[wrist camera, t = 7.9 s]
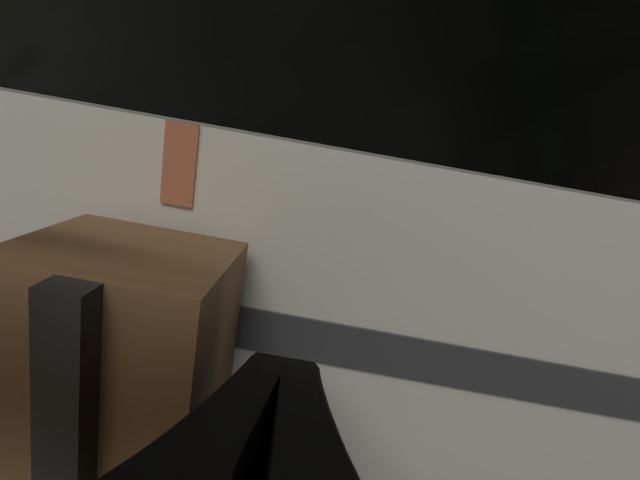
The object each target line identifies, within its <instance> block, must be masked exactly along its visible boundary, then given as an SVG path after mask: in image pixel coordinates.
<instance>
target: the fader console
mask: <svg viewBox="0 0 640 480" xmlns="http://www.w3.org/2000/svg"><path fill="white" fill-rule="evenodd" d="M84 214H91V215H96V216H102V217H108V218H113V219H119V220H124V221H130V222H135V223H141V224H146V225H152V226H157V227H163V228H168V229H174V230H179V231H185V232H190V233H196V234H202V235H207V236H213V237H218V238H224V239H229V240H235V241H240V242H246V243H248V251H247V258H246V266H245V274H244V281H243V289H242V297H241V304H240V312H239V320H238V327H237V335H236V343H235V350H234V358H233V366H232V373H231V376H232V375H233V374H234V373H235V372H236V371H237V370H238V369H239V368H240V367H241V366H242V365H243V364H244V363H245V362H246V361H247V360H248V359H249V358H250V356H252V355H253V354H255V353H256V352H260V353H266V354H272V355H277V356H283V357H288V358H294V359H300V360H305V361H311V362H316V364H317V365H318V367H319V368H320V375H321V380H322V385H323V388H324V392H325V395H326V398H327V401H328V405H329V408H330V410H331V413H332V416H333V418H334V421H335V424H336V426H337V429H338V431H339V434H340V436H341V439H342V441H343V443H344V446H345V448H346V450H347V452H348V455H349V457H350V459H351V461H352V463H353V465H354V467H355V469H356V471H357V473H358V476H359V478H360V480H640V201H638V200H632V199H627V198H621V197H615V196H610V195H604V194H599V193H593V192H587V191H582V190H576V189H571V188H565V187H559V186H554V185H548V184H542V183H537V182H531V181H526V180H520V179H514V178H509V177H503V176H498V175H492V174H486V173H481V172H475V171H469V170H464V169H458V168H453V167H447V166H441V165H436V164H430V163H425V162H419V161H413V160H408V159H402V158H396V157H391V156H385V155H380V154H374V153H368V152H363V151H357V150H352V149H346V148H340V147H335V146H329V145H324V144H318V143H312V142H307V141H301V140H295V139H290V138H284V137H279V136H273V135H267V134H262V133H256V132H251V131H245V130H239V129H234V128H228V127H222V126H217V125H211V124H206V123H200V122H194V121H189V120H183V119H178V118H172V117H166V116H161V115H155V114H149V113H144V112H138V111H133V110H127V109H121V108H116V107H110V106H105V105H99V104H93V103H88V102H82V101H76V100H71V99H65V98H60V97H54V96H48V95H43V94H37V93H32V92H26V91H20V90H15V89H9V88H3V87H0V242H3V241H6V240H9V239H12V238H15V237H18V236H21V235H24V234H27V233H30V232H33V231H36V230H39V229H42V228H45V227H48V226H51V225H54V224H57V223H60V222H63V221H66V220H69V219H72V218H75V217H78V216H81V215H84Z"/></svg>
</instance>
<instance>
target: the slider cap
mask: <svg viewBox="0 0 640 480" xmlns="http://www.w3.org/2000/svg"><path fill="white" fill-rule="evenodd" d="M247 251H248V243H246V242H240V241H235V240H229V239H224V238H218V237H213V236H207V235H202V234H196V233H190V232H185V231H179V230H174V229H168V228H163V227H157V226H152V225H146V224H141V223H135V222H130V221H124V220H119V219H113V218H108V217H102V216H96V215H91V214H84V215H81V216H78V217H75V218H72V219H69V220H66V221H63V222H60V223H57V224H54V225H51V226H48V227H45V228H42V229H39V230H36V231H33V232H30V233H27V234H24V235H21V236H18V237H15V238H12V239H9V240H6V241H3V242H0V480H96V479H97V478H99V477H101V476H102V475H104V474H105V473H107V472H108V471H110V470H112V469H113V468H115V467H116V466H118V465H119V464H121V463H122V462H124V461H125V460H127V459H128V458H130V457H131V456H133V455H134V454H136V453H137V452H139V451H140V450H142V449H143V448H144V447H146V446H147V445H149V444H150V443H151V442H153V441H154V440H156V439H157V438H158V437H160V436H161V435H162V434H164V433H165V432H166V431H167V430H169V429H170V428H171V427H173V426H174V425H175V424H176V423H178V422H179V421H180V420H181V419H183V418H184V417H185V416H187V415H188V414H189V413H190V412H192V411H193V410H194V409H195V408H197V407H198V406H199V405H200V404H201V403H202V402H203V401H205V400H206V399H207V398H208V397H209V396H210V395H211V394H212V393H214V392H215V391H216V390H217V389H218V388H219V387H220V386H222V385H223V384H224V383H225V382H226V381H227V380H228V379H229V378H230V377H231V373H232V366H233V358H234V350H235V343H236V335H237V327H238V320H239V312H240V304H241V297H242V289H243V281H244V274H245V266H246V258H247Z"/></svg>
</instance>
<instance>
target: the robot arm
mask: <svg viewBox="0 0 640 480" xmlns="http://www.w3.org/2000/svg"><path fill="white" fill-rule="evenodd" d="M96 480H360V478H359V476H358V473H357V471H356V469H355V467H354V465H353V463H352V461H351V459H350V457H349V455H348V452H347V450H346V448H345V446H344V443H343V441H342V439H341V436H340V434H339V431H338V429H337V426H336V424H335V421H334V418H333V416H332V413H331V410H330V408H329V405H328V401H327V398H326V395H325V392H324V388H323V385H322V380H321V375H320V368H319V367H318V365H317V364H316V362H311V361H305V360H300V359H294V358H288V357H283V356H277V355H272V354H266V353H260V352H256V353H255V354H253V355H252V356H250V358H249V359H248V360H247V361H246V362H245V363H244V364H243V365H242V366H241V367H240V368H239V369H238V370H237V371H236V372H235V373H234V374H233V375H232V376H231V377H230V378H229V379H228V380H227V381H226V382H225V383H224V384H223V385H222V386H220V387H219V388H218V389H217V390H216V391H215V392H214V393H212V394H211V395H210V396H209V397H208V398H207V399H206V400H205V401H203V402H202V403H201V404H200V405H199V406H198V407H197V408H195V409H194V410H193V411H192V412H190V413H189V414H188V415H187V416H185V417H184V418H183V419H181V420H180V421H179V422H178V423H176V424H175V425H174V426H173V427H171V428H170V429H169V430H167V431H166V432H165V433H164V434H162V435H161V436H160V437H158V438H157V439H156V440H154V441H153V442H151V443H150V444H149V445H147V446H146V447H144V448H143V449H142V450H140V451H139V452H137V453H136V454H134V455H133V456H131V457H130V458H128V459H127V460H125V461H124V462H122V463H121V464H119V465H118V466H116V467H115V468H113V469H112V470H110V471H108V472H107V473H105V474H104V475H102V476H101V477H99V478H97V479H96Z"/></svg>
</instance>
